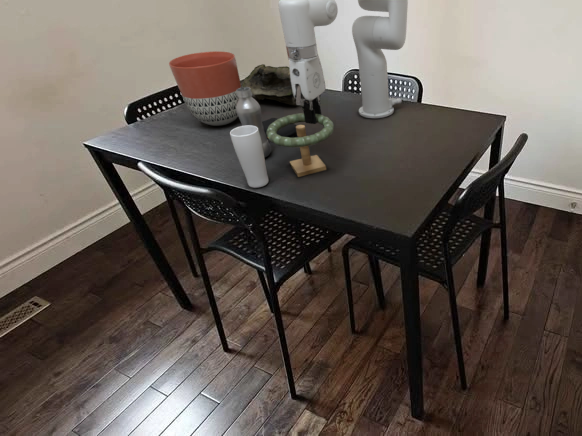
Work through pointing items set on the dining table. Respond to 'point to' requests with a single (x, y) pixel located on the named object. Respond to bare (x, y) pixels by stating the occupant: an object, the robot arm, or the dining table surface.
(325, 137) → the hoop
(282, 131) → the carrying case
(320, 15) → the robot arm
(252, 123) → the plastic bottle
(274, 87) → the hollow geode rock
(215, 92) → the planter
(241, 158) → the drinking glass
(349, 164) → the dining table surface
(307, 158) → the coat peg
